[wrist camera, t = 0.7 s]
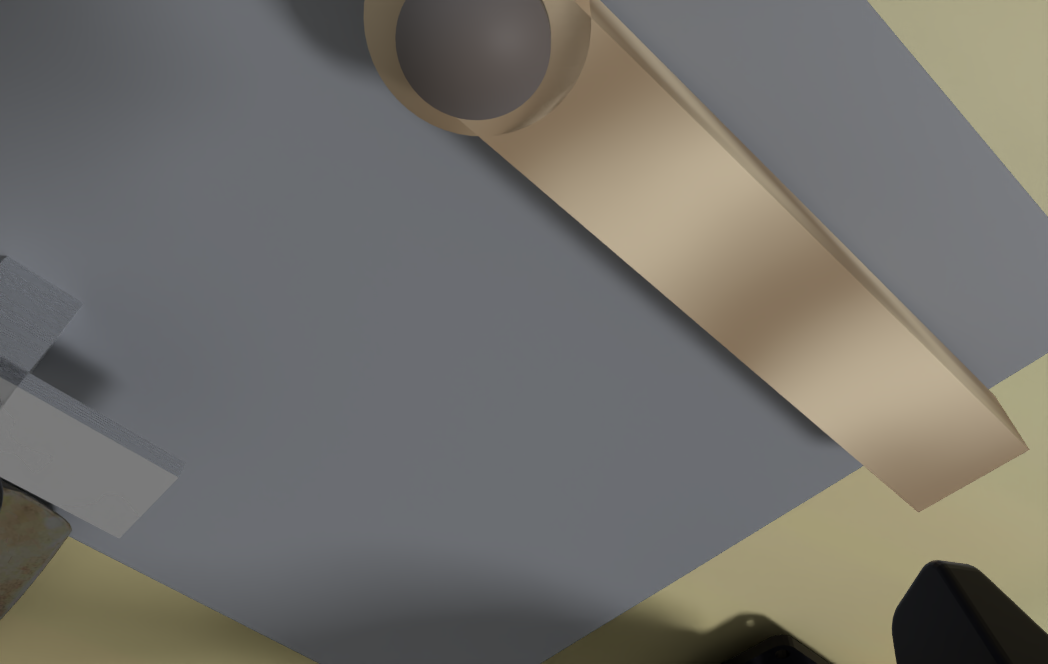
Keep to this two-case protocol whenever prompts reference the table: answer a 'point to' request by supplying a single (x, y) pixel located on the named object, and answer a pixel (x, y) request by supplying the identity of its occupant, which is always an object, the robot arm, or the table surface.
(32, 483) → the keeper
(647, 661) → the table surface
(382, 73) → the link
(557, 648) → the pivot board
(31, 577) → the stone
